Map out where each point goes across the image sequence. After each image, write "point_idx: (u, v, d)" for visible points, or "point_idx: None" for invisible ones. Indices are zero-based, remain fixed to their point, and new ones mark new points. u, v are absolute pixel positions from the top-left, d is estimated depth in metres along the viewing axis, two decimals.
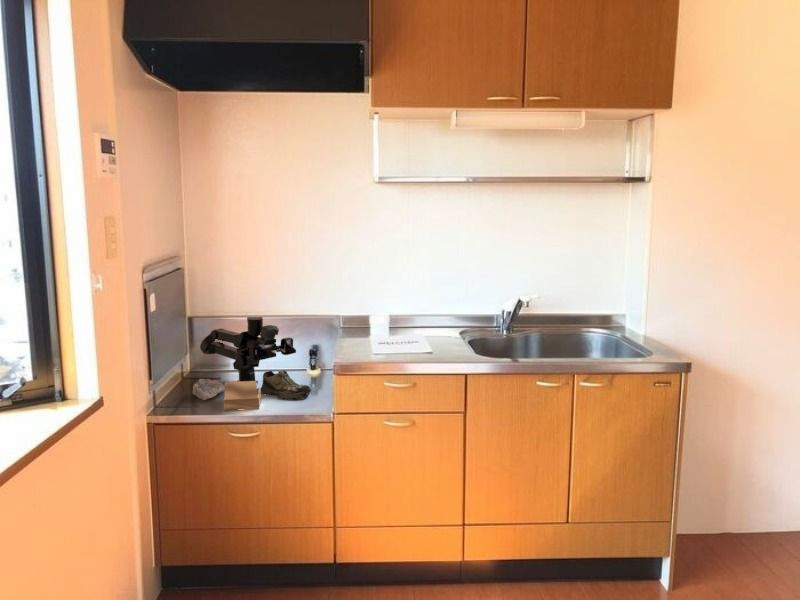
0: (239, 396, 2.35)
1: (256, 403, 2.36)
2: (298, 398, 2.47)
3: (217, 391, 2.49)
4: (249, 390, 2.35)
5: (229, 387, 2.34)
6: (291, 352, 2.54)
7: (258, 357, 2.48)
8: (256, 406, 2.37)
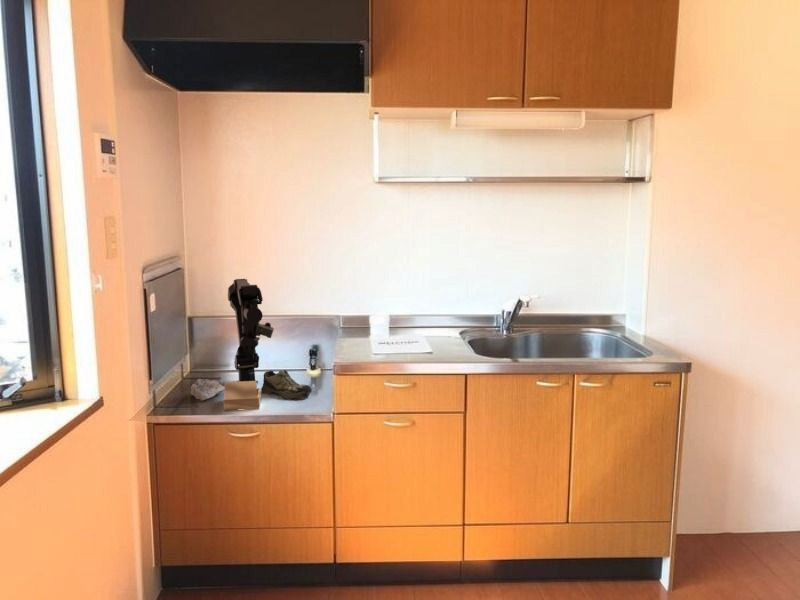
0: (239, 396, 2.35)
1: (256, 403, 2.36)
2: (299, 398, 2.47)
3: (215, 391, 2.48)
4: (249, 390, 2.35)
5: (229, 387, 2.34)
6: None
7: None
8: (256, 406, 2.37)
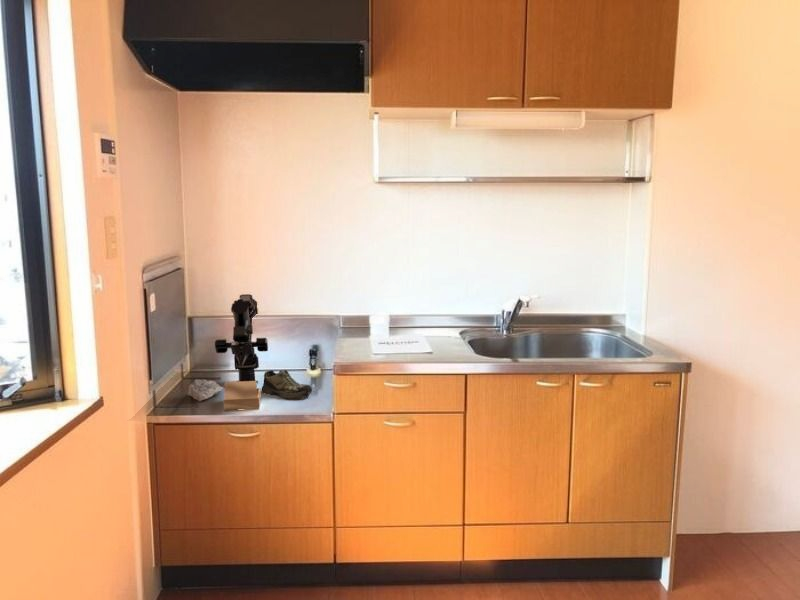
0: (239, 396, 2.35)
1: (256, 403, 2.36)
2: (299, 397, 2.47)
3: (213, 392, 2.48)
4: (249, 390, 2.35)
5: (229, 387, 2.34)
6: None
7: (233, 352, 2.49)
8: (256, 406, 2.37)
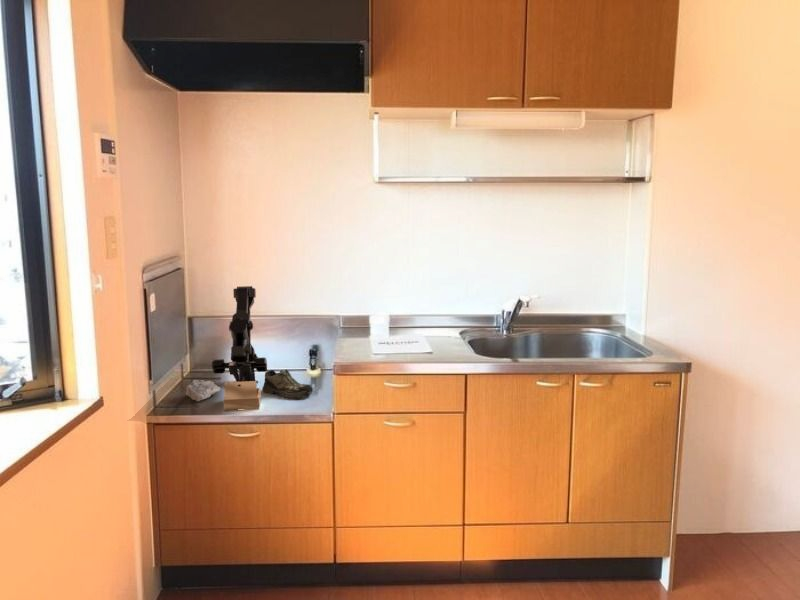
0: (239, 396, 2.35)
1: (256, 403, 2.36)
2: (300, 397, 2.48)
3: (211, 392, 2.48)
4: (249, 390, 2.35)
5: (229, 387, 2.34)
6: None
7: (231, 373, 2.39)
8: (256, 406, 2.37)
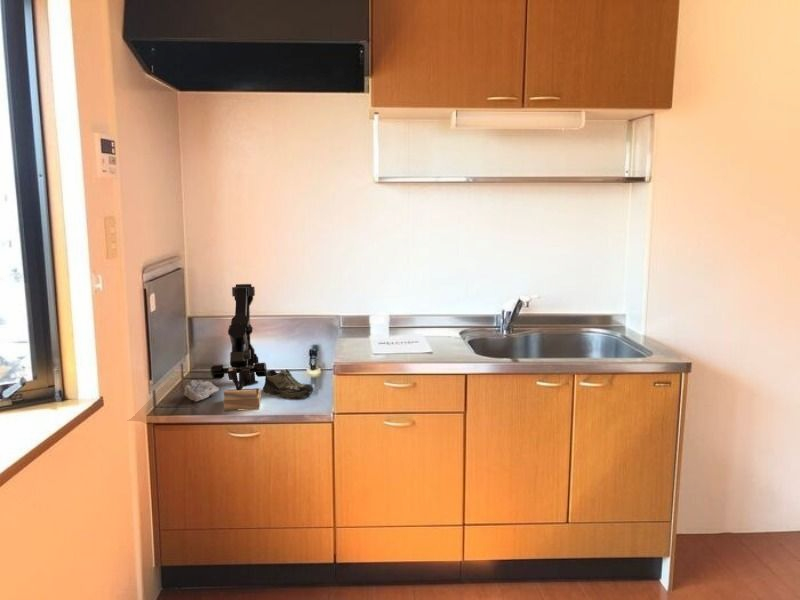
0: (239, 398, 2.34)
1: (256, 403, 2.36)
2: (300, 397, 2.48)
3: (209, 392, 2.47)
4: (249, 395, 2.33)
5: (228, 394, 2.31)
6: None
7: (230, 378, 2.36)
8: (256, 406, 2.37)
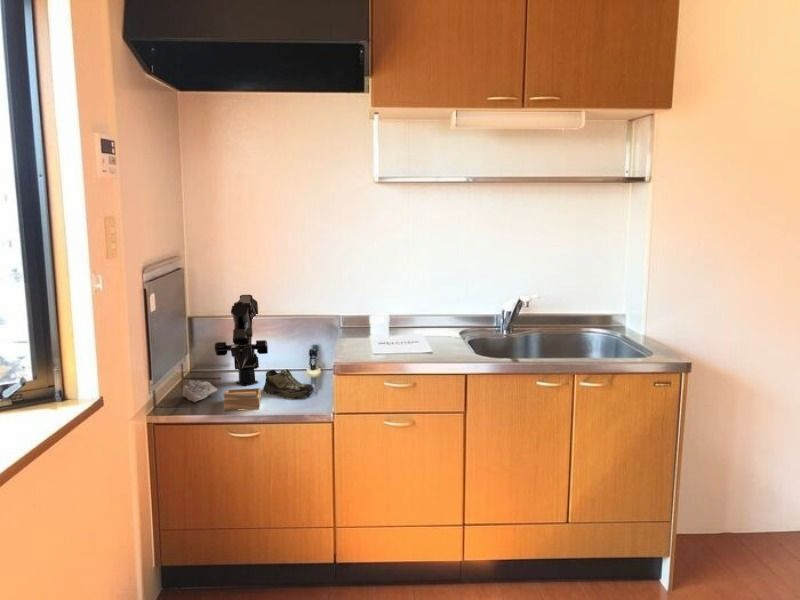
0: (239, 398, 2.34)
1: (256, 403, 2.36)
2: (301, 397, 2.48)
3: (208, 393, 2.47)
4: (249, 396, 2.33)
5: (228, 395, 2.31)
6: None
7: (233, 355, 2.48)
8: (256, 406, 2.37)
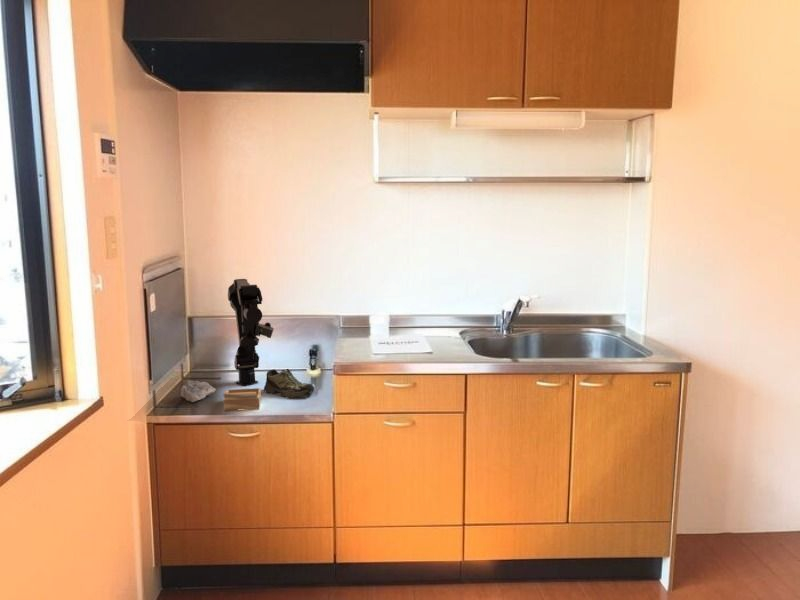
0: (239, 398, 2.34)
1: (256, 403, 2.36)
2: (301, 396, 2.48)
3: (206, 393, 2.47)
4: (249, 396, 2.33)
5: (228, 395, 2.31)
6: None
7: None
8: (256, 406, 2.37)
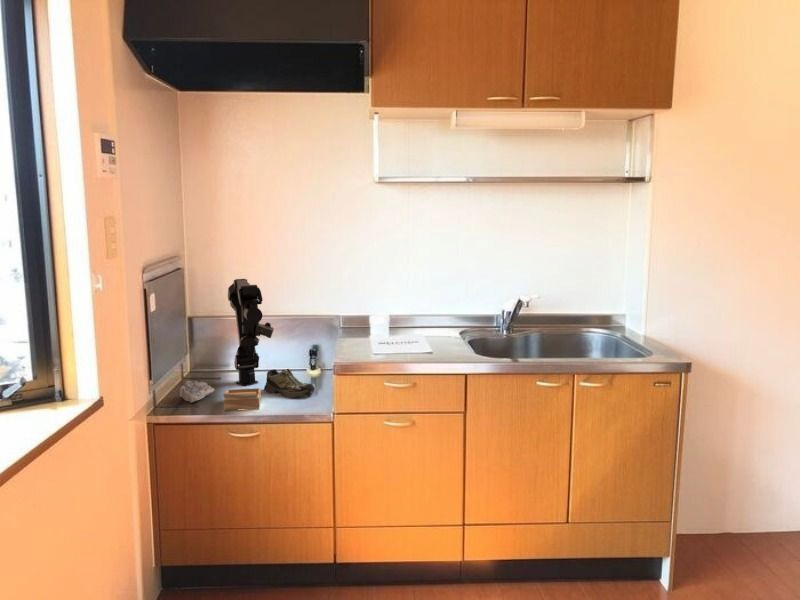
0: (239, 398, 2.34)
1: (256, 403, 2.36)
2: (302, 396, 2.49)
3: (205, 393, 2.46)
4: (249, 396, 2.33)
5: (228, 395, 2.31)
6: None
7: None
8: (256, 406, 2.37)
